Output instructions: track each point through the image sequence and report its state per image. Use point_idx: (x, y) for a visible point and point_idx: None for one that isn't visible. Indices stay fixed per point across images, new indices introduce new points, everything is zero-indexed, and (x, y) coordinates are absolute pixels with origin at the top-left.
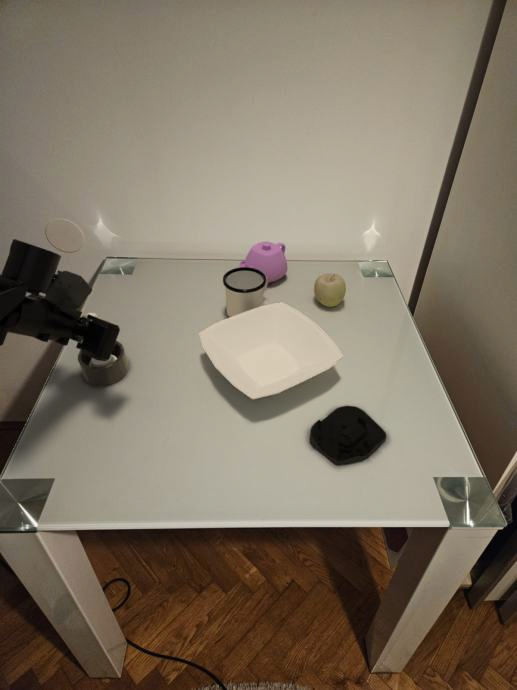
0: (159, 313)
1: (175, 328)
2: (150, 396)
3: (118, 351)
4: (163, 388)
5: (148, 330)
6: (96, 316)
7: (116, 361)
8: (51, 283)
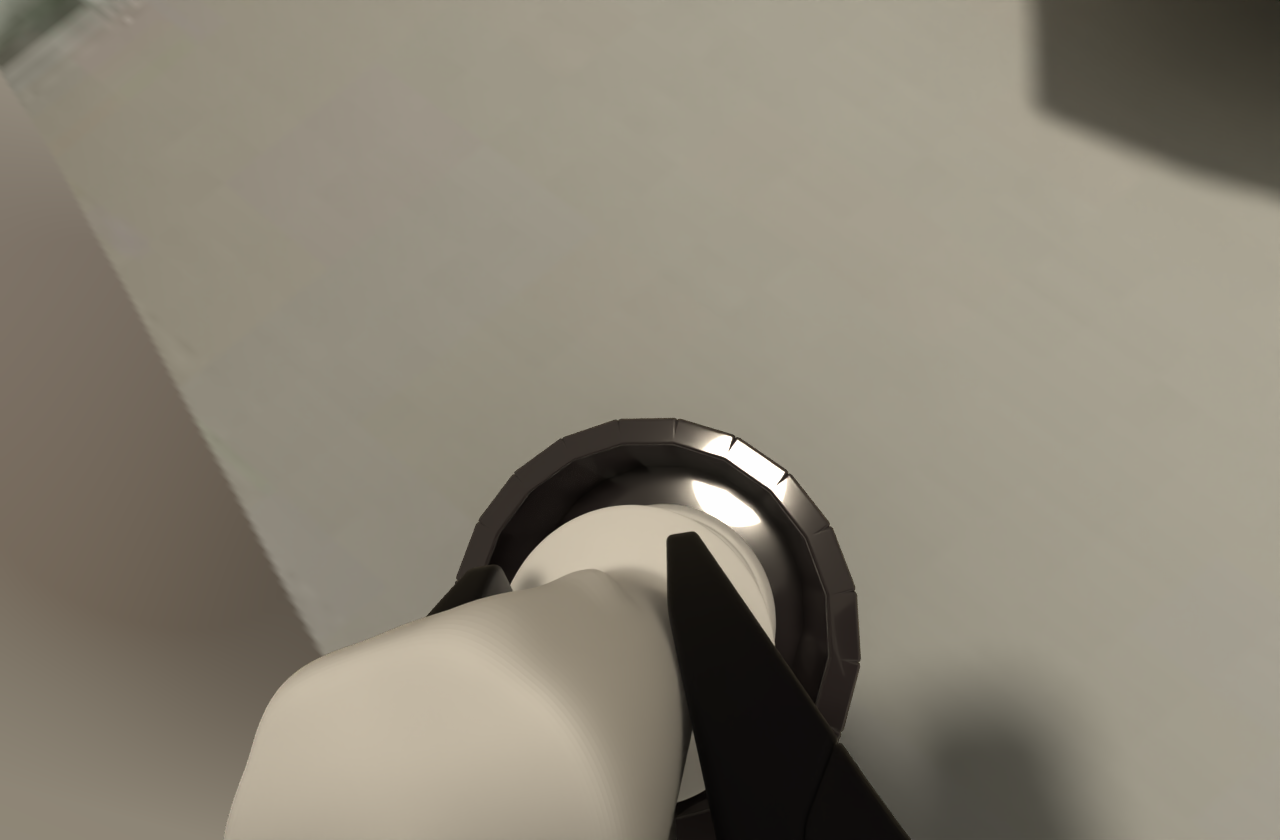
0: (514, 50)
1: (699, 64)
2: (1132, 575)
3: (654, 457)
4: (1130, 463)
5: (580, 181)
6: (561, 683)
7: (849, 604)
8: None
